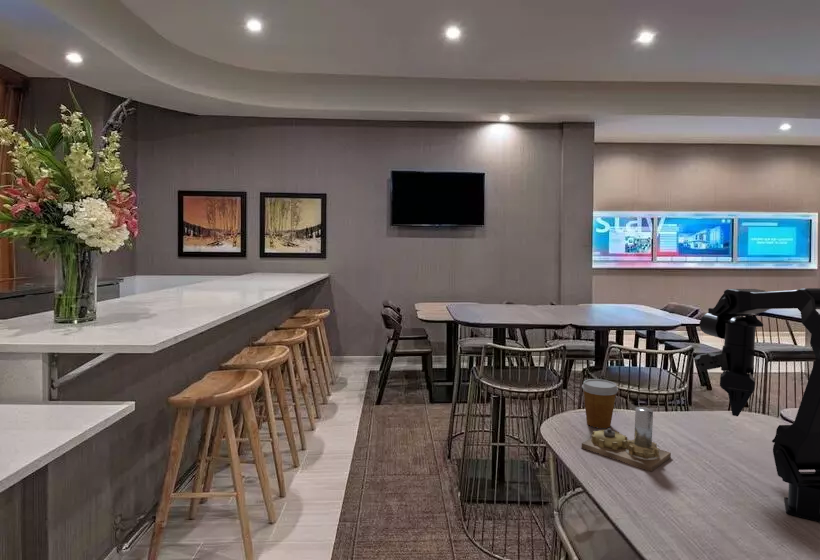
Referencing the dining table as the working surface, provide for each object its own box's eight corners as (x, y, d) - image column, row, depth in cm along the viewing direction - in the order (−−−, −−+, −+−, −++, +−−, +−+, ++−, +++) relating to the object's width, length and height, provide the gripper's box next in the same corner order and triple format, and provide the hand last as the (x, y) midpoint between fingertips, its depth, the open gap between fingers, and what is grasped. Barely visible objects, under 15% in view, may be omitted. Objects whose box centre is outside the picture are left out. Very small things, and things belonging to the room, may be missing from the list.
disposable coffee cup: (599, 416, 144) (600, 377, 143) (624, 428, 135) (625, 386, 134) (573, 421, 140) (574, 380, 139) (597, 433, 131) (598, 389, 130)
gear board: (670, 457, 116) (671, 438, 116) (651, 471, 109) (652, 451, 109) (602, 436, 129) (603, 419, 129) (581, 447, 122) (582, 429, 121)
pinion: (661, 460, 112) (663, 416, 111) (630, 457, 113) (632, 413, 112) (654, 448, 118) (655, 406, 118) (625, 445, 120) (626, 403, 119)
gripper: (701, 333, 123) (698, 393, 124) (695, 346, 107) (691, 414, 109) (755, 338, 116) (751, 401, 118) (756, 352, 101) (752, 425, 102)
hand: (735, 409), depth 112 cm, fingers open, 9 cm apart
